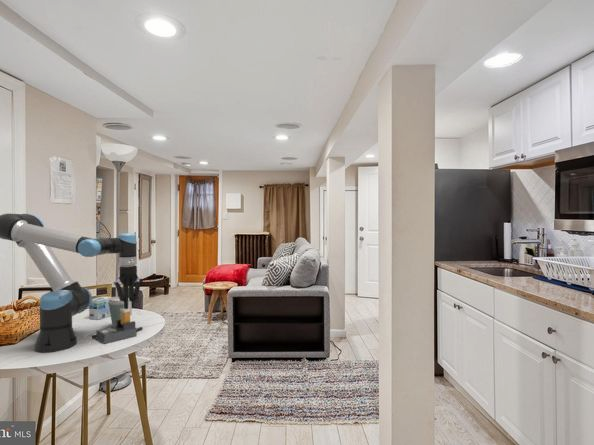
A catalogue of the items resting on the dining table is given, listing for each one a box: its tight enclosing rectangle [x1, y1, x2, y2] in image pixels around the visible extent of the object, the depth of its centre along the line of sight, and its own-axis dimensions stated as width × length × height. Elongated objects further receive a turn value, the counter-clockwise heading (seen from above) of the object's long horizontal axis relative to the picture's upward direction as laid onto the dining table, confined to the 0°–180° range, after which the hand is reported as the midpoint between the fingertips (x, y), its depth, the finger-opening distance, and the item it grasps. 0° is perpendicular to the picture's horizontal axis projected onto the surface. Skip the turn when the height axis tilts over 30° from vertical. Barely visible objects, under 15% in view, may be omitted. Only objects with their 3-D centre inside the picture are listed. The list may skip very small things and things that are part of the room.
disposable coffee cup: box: [108, 296, 130, 327], centre depth 184 cm, size 11×11×15 cm
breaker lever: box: [120, 308, 131, 326], centre depth 169 cm, size 2×6×8 cm, turn 48°
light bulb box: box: [88, 296, 113, 321], centre depth 203 cm, size 11×7×11 cm, turn 164°
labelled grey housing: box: [95, 319, 138, 345], centre depth 166 cm, size 14×10×7 cm
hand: (128, 314), depth 171 cm, fingers closed
